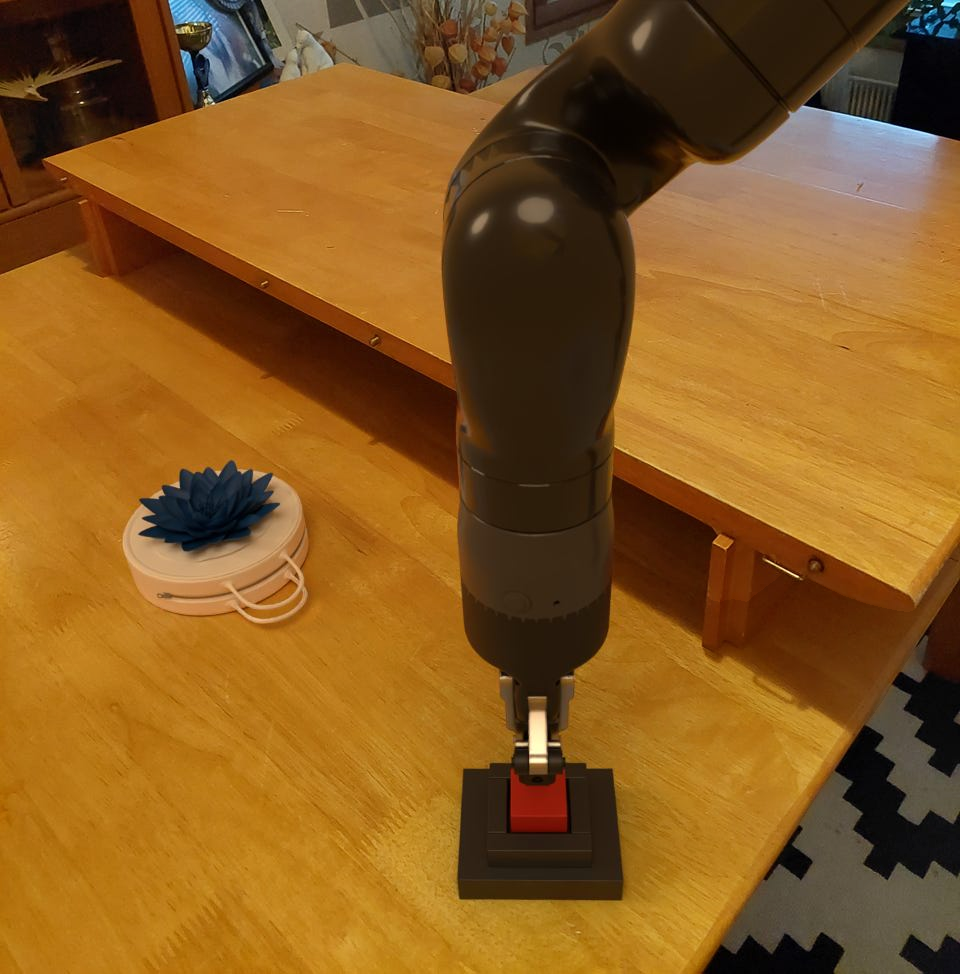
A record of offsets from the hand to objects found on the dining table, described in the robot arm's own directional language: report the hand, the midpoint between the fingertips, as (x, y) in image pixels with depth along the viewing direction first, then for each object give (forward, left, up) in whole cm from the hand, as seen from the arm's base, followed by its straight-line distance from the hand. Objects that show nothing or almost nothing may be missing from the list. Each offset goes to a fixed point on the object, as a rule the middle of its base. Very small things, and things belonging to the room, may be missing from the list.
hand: (537, 773), depth 56 cm
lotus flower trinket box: (+32, -20, -7) cm, 38 cm away
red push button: (0, 0, -7) cm, 7 cm away
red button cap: (0, 0, -4) cm, 4 cm away
